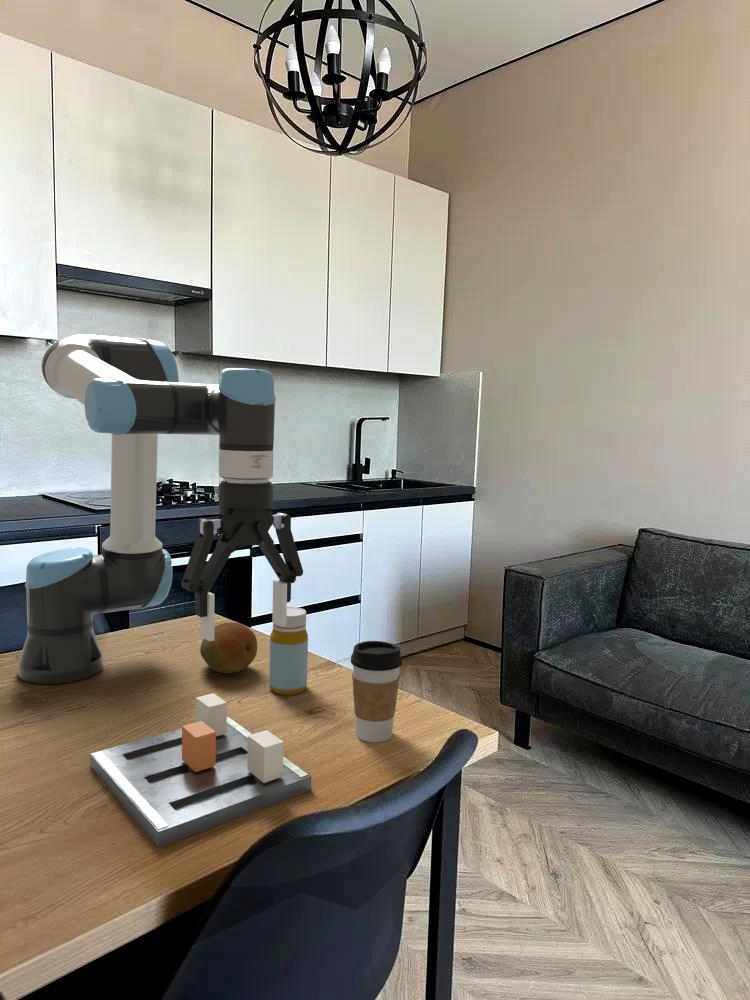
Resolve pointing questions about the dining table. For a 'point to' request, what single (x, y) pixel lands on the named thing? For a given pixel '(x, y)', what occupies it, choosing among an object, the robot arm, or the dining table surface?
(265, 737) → the block
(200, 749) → the block
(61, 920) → the dining table surface
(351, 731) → the dining table surface
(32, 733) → the dining table surface
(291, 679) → the bottle
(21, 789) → the dining table surface
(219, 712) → the block
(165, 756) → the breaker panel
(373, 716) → the coffee cup
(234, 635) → the fruit
